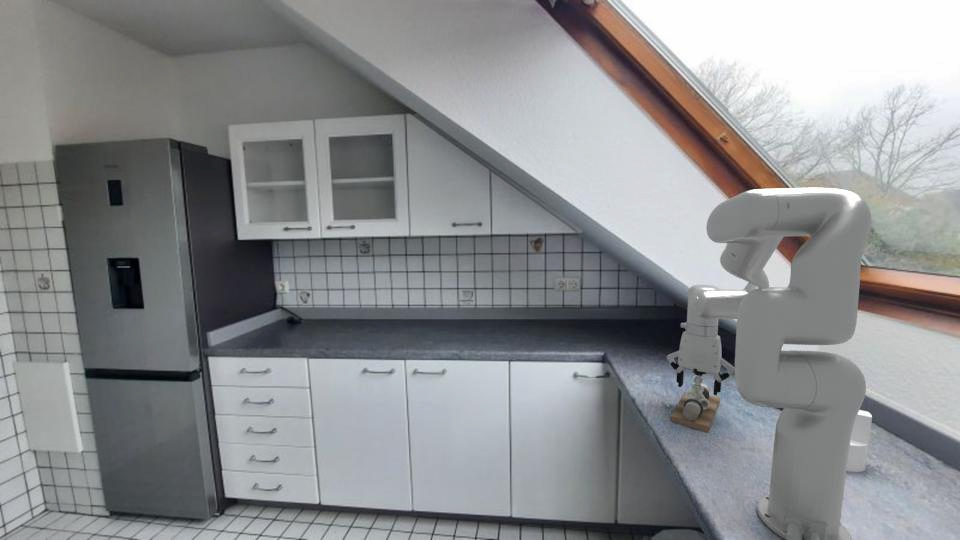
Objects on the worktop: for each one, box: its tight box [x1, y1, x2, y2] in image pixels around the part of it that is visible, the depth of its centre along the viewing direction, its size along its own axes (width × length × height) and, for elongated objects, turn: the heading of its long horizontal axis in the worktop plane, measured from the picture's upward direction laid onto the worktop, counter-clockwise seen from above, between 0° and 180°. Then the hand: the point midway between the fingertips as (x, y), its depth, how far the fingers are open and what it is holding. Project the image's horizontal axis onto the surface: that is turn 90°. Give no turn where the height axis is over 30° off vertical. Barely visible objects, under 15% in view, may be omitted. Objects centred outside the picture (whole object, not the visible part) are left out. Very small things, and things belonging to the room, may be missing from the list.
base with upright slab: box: [846, 409, 873, 473], centre depth 85 cm, size 9×9×12 cm
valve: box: [684, 368, 709, 411], centre depth 107 cm, size 7×7×12 cm
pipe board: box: [669, 382, 721, 433], centre depth 107 cm, size 21×9×6 cm, turn 141°
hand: (697, 389), depth 107 cm, fingers open, 8 cm apart
